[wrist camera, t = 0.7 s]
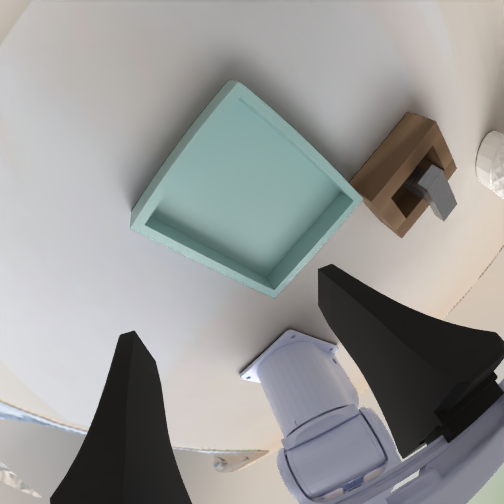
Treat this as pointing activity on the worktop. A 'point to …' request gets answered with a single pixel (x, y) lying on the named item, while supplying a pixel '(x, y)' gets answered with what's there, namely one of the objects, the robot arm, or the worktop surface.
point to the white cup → (491, 162)
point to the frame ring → (402, 171)
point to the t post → (432, 189)
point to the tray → (245, 194)
